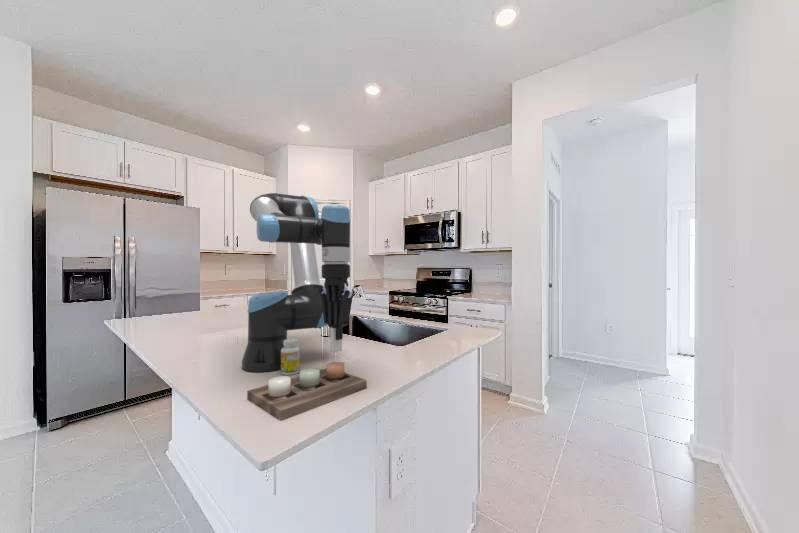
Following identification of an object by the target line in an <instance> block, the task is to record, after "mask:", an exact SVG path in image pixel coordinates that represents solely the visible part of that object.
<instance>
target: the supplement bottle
mask: <svg viewBox="0 0 799 533" xmlns="http://www.w3.org/2000/svg"><path fill="white" fill-rule="evenodd" d="M283 346H284V347H283V348H282V349H281V369H280V374H281V375H282V376H283V375H284V376H293V375H297V374H298V373H300V371H301V370H300V368H301V367H300V364H301V363H300V360H301V359H300V353H301V352H300V350H301V349H300V347H299V346H298V339H295V338H287V340H284V341H283Z"/></svg>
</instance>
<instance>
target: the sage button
mask: <svg viewBox="0 0 799 533" xmlns="http://www.w3.org/2000/svg"><path fill="white" fill-rule="evenodd" d="M320 370H321V369H318V368H315V367H313V368H312V367H311V368H304V369H302V370H300V371H299V376H300V386H303V387H311V388H313V387H312V386H316V385H318V384H319V383H320Z"/></svg>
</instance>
